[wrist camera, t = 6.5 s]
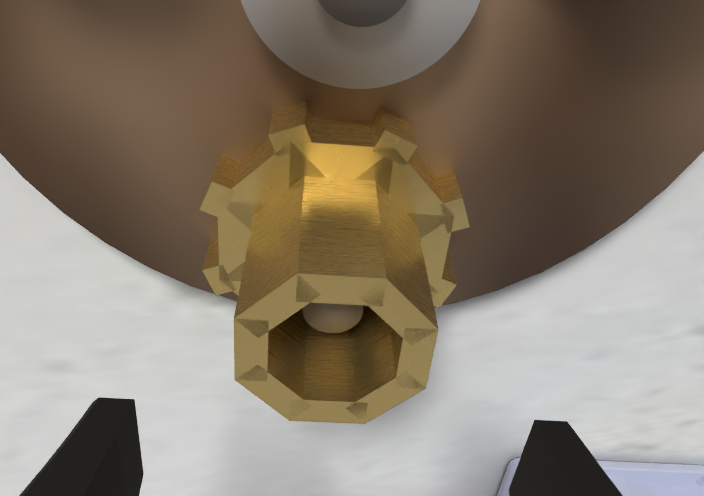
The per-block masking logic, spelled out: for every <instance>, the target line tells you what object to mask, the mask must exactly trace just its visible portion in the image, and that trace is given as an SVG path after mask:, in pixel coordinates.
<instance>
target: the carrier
mask: <svg viewBox="0 0 704 496" xmlns="http://www.w3.org/2000/svg"><path fill="white" fill-rule="evenodd" d="M304 100H307V103H308V105H309V108H310V111H311V114H312V116H313V117H316V118H329V119H343V120H356V121H370V122H372V120H373V119H374V117H375V115H376V113H377V112H378V110H379V108H380V106H383V107H385V108H387V109H389V110H391V111H393V112H395V113H397V114H399V115H401V116H403V117H405V118H407V119H409V120H411V121H412V124H413V129H414V133H415V137H416V141H417V145H418V147H417V148H416V150H415V152H416V153H417V154H418V155H419V157H420V158H421V159H422V160H423V161H424V162H425V163H426V165H427V166H428V167H429V168H430V169H431V170H432V172H433V173H434V174H435V175H439V174H443V173H446V172H450V171H453V170H454V173H455V176H456V180H457V183H458V186H459V189H460V192H461V195H462V198H463V202H464V206H465V210H466V214H467V218H468V222H469V226H470V227H468V228H464V229H461V230H457V231H453V232H451V236H450V241H449V246H448V250H447V253H448V254H449V257H450V261H451V264H452V268H453V272H454V276H455V280H456V284H457V285H456V287H455V288H454V289H453V291H452V292H451V293H450V295H449V296H448V297H447V298H446V300H445V301H444V302H443V304H442V305H446V304H451V303H456V302H459V301H463V300H466V299H469V298H473V297H476V296H479V295H483V294H486V293H489V292H493V291H496V290H499V289H502V288H504V287H506V286H509V285H511V284H514V283H516V282H519V281H521V280H523V279H526V278H528V277H531V276H533V275H536V274H538V273H541V272H543V271H544V270H546V269H548V268H550V267H552V266H554V265H556V264H558V263H560V262H561V261H563V260H565V259H567V258H569V257H571V256H573V255H575V254H576V253H578V252H580V251H582V250H584V249H585V248H587V247H588V246H590V245H591V244H593V243H594V242H596V241H597V240H599V239H600V238H602V237H603V236H605V235H606V234H608V233H609V232H611V231H612V230H614V229H615V228H617V227H618V226H620V225H621V224H623V223H624V222H626V221H627V220H628V219H629V218H631V217H632V216H633V215H634V214H635V213H637V212H638V211H639V210H640V209H642V208H643V207H644V206H645V205H646V204H648V203H649V202H650V201H651V200H653V199H654V198H655V197H656V196H657V195H659V194H660V193H661V192H662V191H664V190H665V189H666V188H667V187H668V186H669V185H670V184H671V183H672V182H673V181H674V180H675V179H676V178H677V177H678V176H679V175H680V174H681V173H682V172H683V171H684V170H685V169H686V168H687V167H688V166H689V165H690V164H691V163H692V162H693V161H694V160H695V159H696V158H697V157H698V156H699V155H700V154H701V153H702V152H703V151H704V0H0V153H1V154H2V155H3V156H4V157H5V158H6V160H7V161H8V162H9V163H10V164H11V165H12V166H13V167H14V168H15V169H16V170H17V171H18V172H19V173H20V175H21V176H22V177H23V178H24V179H26V180H27V181H28V182H29V183H30V184H31V185H32V186H34V187H35V188H36V189H37V190H38V191H39V192H40V193H41V194H43V195H44V196H45V197H46V198H47V199H48V200H49V201H51V202H52V203H53V204H54V205H55V206H56V207H57V208H59V209H60V210H61V211H62V212H63V213H64V214H66V215H67V216H69V217H70V218H71V219H73V220H74V221H76V222H77V223H79V224H80V225H81V226H83V227H84V228H86V229H87V230H88V231H90V232H91V233H93V234H94V235H95V236H97V237H98V238H100V239H101V240H102V241H104V242H105V243H107V244H109V245H110V246H112V247H114V248H116V249H117V250H119V251H121V252H123V253H125V254H126V255H128V256H130V257H132V258H133V259H135V260H137V261H139V262H140V263H142V264H144V265H146V266H147V267H149V268H152V269H154V270H156V271H159V272H161V273H163V274H165V275H168V276H170V277H172V278H174V279H177V280H179V281H181V282H183V283H186V284H188V285H190V286H193V287H196V288H199V289H202V290H205V291H208V292H211V293H214V291H213V289H212V288H211V286H210V284H209V282H208V280H207V278H206V277H205V275H204V273H203V271H202V269H203V265H204V262H205V258H206V254H207V251H208V247H209V244H210V240H211V239H214V238H217V237H218V217H216V216H213V215H211V214H208V213H206V212H203V211H201V210H199V209H200V206H201V203H202V200H203V197H204V194H205V191H206V187H207V184H208V181H209V179H210V177H211V175H212V172H213V170H214V168H215V166H216V164H217V161H218V159H219V157H220V155H224V156H226V157H228V158H231V159H233V160H235V161H240V160H241V159H242V158H243V157H245V156H246V155H247V154H248V153H249V152H251V151H252V150H253V149H254V148H255V147H257V146H258V145H259V144H260V143H261V142H263V141H264V140H265V139H266V138H268V137H269V136H268V133H269V128H270V123H271V117H272V112H273V110H275V109H279V108H282V107H285V106H288V105H291V104H295V103H298V102H301V101H304ZM214 294H215V293H214ZM220 295H221V296H224V297H227V298H230V299H233V300H236V301H237V300H238V295H237V294H235V293H234V292H233V291H231V292H227V293H223V294H220ZM434 307H436V306H434ZM362 314H363V305H348V304H329V303H311V302H310V303H309V304H307V305H306V306H305V307H303V315H304V318H305V320H306V321H307V323H308V324H309V325H310V326H312V327H313V328H315V329H317V330H319V331H322V332H326V333H339V332H344V331H347V330H349V329H351V328H352V327H354V326H355V325H356V324H357V323H358V322H359V321H360V319H361V317H362Z"/></svg>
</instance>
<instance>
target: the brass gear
mask: <svg viewBox="0 0 704 496" xmlns="http://www.w3.org/2000/svg"><path fill="white" fill-rule="evenodd" d="M268 136H269V137H268V138H266V139H265V140H264V141H263V142H261V143H260V144H259V145H258V146H257V147H255V148H254V149H253V150H252V151H251V152H249V153H248V154H247V155H246V156H245V157H243V158H242V159H241V160H240V161H235V160H233V159H231V158H228V157H226V156H224V155H220V157H219V159H218V161H217V164H216V166H215V168H214V170H213V172H212V175H211V177H210V179H209V181H208V184H207V187H206V191H205V194H204V197H203V200H202V203H201V206H200V209H199V210H201V211H203V212H206V213H208V214H211V215H213V216H216V217H218V237H217V238H214V239H211V240H210V244H209V247H208V251H207V254H206V258H205V262H204V265H203V269H202V271H203V273H204V275H205V277H206V278H207V280H208V282H209V284H210V286H211V288H212V289H213V291H214V293H215V295H220V294H223V293H227V292H231V291H233V292H234V293H235V294H237V295H238V300H237V305H236V311H235V316H234V359H235V380H236V381H237V382H238V383H240V384H241V385H242V386H244V387H245V388H246V389H248V390H249V391H250V392H252V393H253V394H254V395H256V396H257V397H258V398H260V399H261V400H262V401H264V402H265V403H266V404H268V405H269V406H270V407H272V408H273V409H275V410H276V411H277V412H279V413H280V414H281V415H283V416H284V417H285V418H287V419H288V420H289V421H310V422H334V423H358V424H365V423H367V422H369V421H371V420H372V419H374V418H376V417H377V416H379V415H381V414H383V413H384V412H386V411H388V410H390V409H391V408H393V407H395V406H396V405H398V404H400V403H402V402H403V401H405V400H407V399H409V398H410V397H412V396H414V395H415V394H417V393H419V392H421V391H422V390H424V389H426V384H427V380H428V375H429V370H430V366H431V361H432V357H433V352H434V347H435V343H436V338H437V333H438V325H437V320H436V315H435V310H434V306H436V307H439V308H440V306H441V305H442V304H443V302H444V301H445V300H446V298H447V297H448V296H449V295H450V293H451V292H452V291H453V289H454V288H455V287H456V285H457V284H456V280H455V276H454V272H453V268H452V264H451V261H450V257H449V254H448V253H447V250H448V246H449V241H450V236H451V232H453V231H457V230H461V229H464V228H468V227H470V226H469V222H468V218H467V214H466V210H465V206H464V202H463V198H462V195H461V192H460V189H459V186H458V183H457V180H456V176H455V173H454V170H453V171H450V172H446V173H443V174H439V175H435V174H434V173H433V172H432V170H431V169H430V168H429V167H428V166H427V165H426V163H425V162H424V161H423V160H422V159H421V158H420V157H419V155H418V154H417V153H416V152H415V150H416V148H417V147H418V145H417V141H416V137H415V133H414V129H413V124H412V121H411V120H409V119H407V118H405V117H403V116H401V115H399V114H397V113H395V112H393V111H391V110H389V109H387V108H385V107H383V106H380V108H379V110H378V112H377V113H376V115H375V117H374V119H373V120H372V122H370V121H356V120H343V119H329V118H316V117H313V116H312V114H311V111H310V108H309V105H308V103H307V100H304V101H301V102H298V103H295V104H291V105H288V106H285V107H282V108H279V109H275V110H273V112H272V117H271V123H270V128H269V133H268ZM310 302H311V303H329V304H348V305H363V314H362V317H361V319H360V321H359V322H358V323H357V324H356V325H355V326H354V327H352V328H351V329H349V330H347V331H344V332H339V333H326V332H322V331H319V330H317V329H315V328H313V327H312V326H310V325H309V324H308V323H307V321H306V320H305V318H304V315H303V307H305V306H306V305H307V304H309V303H310Z"/></svg>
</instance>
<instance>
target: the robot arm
mask: <svg viewBox="0 0 704 496" xmlns="http://www.w3.org/2000/svg"><path fill="white" fill-rule="evenodd" d="M142 478H143V467H142V459H141V450H140V442H139V434H138V426H137V417H136V409H135V401H134V399H115V398H98V399H96V400H95V401H94V402H93V403H92V404H91V405H90V407H89V408H88V410H87V411H86V412H85V414H84V415H83V417H82V418H81V419H80V421H79V422H78V423H77V425H76V426H75V427H74V429H73V430H72V431H71V433H70V434H69V435H68V437H67V438H66V439H65V440H64V442H63V443H62V444H61V446H60V447H59V448H58V449H57V451H56V452H55V453H54V454H53V456H52V457H51V458H50V459H49V461H48V462H47V463H46V465H45V466H44V467H43V468H42V469H41V471H40V472H39V473H38V474H37V475H36V477H35V478H34V479H33V480H32V481H31V482H30V484H29V485H28V486H27V487H26V488H25V490H24V491H23V492H22V493H21V494H20V496H139V493H140V488H141V483H142ZM497 496H704V465H685V464H662V463H640V462H618V461H596V459H595V458H594V457H593V455H592V454H591V453H590V451H589V450H588V449H587V447H586V446H585V445H584V443H583V442H582V441H581V439H580V438H579V437H578V435H577V434H576V433H575V431H574V430H573V429H572V427H571V426H570V425H569V424H568V422H564V421H544V420H534V423H533V426H532V428H531V431H530V434H529V436H528V439H527V442H526V444H525V447H524V450H523V452H522V455H521V457H519V458H516V459H513V460H512V461H511V462H510V463H509V464H508V467H507V470H506V472H505V475H504V478H503V481H502V483H501V486H500V489H499V492H498V494H497Z"/></svg>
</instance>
